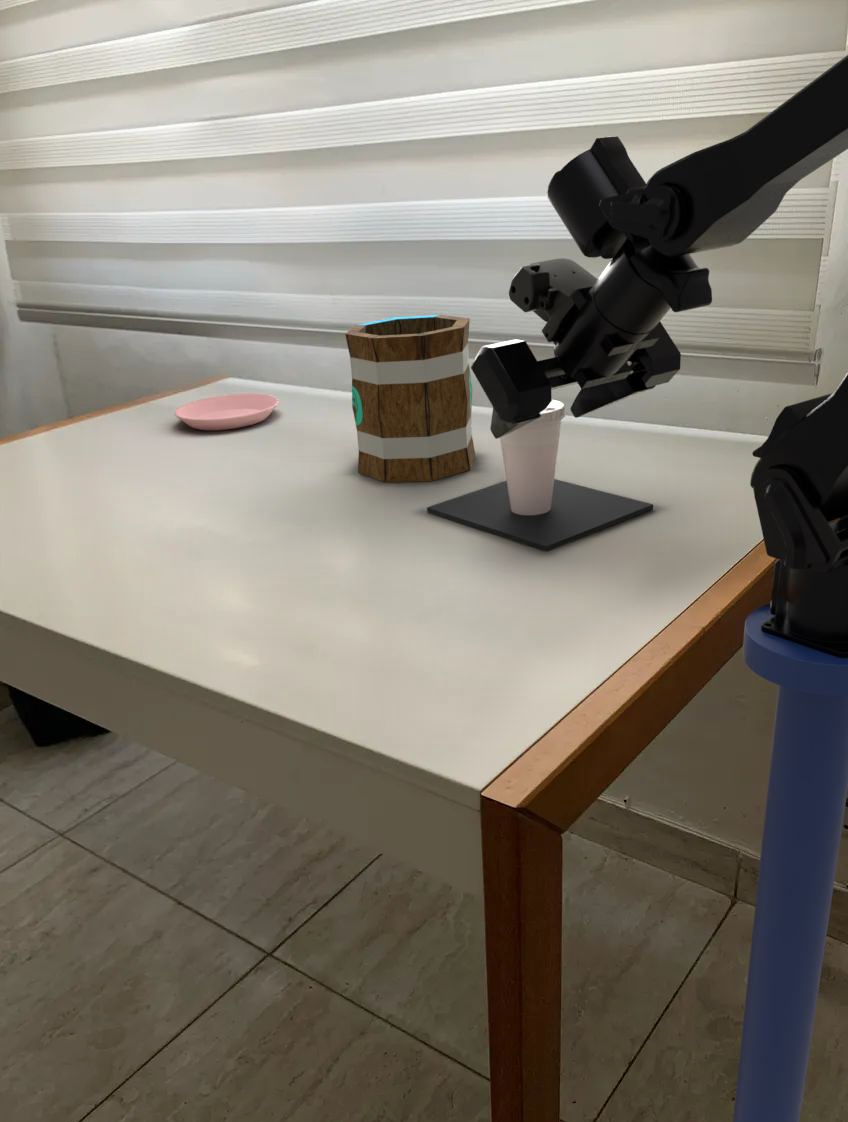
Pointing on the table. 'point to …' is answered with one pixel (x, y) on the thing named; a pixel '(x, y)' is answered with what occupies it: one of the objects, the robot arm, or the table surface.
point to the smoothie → (533, 461)
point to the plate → (227, 411)
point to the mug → (412, 397)
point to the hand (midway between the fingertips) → (534, 423)
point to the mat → (563, 523)
